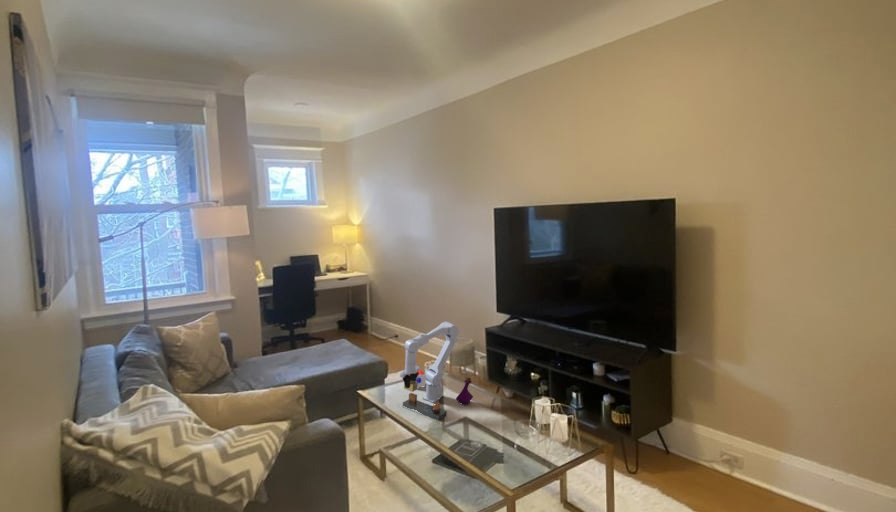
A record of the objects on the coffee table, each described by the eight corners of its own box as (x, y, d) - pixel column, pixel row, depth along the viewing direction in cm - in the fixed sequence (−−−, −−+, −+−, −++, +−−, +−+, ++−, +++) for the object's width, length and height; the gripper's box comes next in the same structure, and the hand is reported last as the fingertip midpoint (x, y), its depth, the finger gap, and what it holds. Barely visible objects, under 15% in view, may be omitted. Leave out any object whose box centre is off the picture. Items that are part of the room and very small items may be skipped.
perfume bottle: (473, 401, 263) (474, 371, 261) (467, 407, 257) (469, 375, 254) (460, 398, 266) (462, 368, 264) (455, 404, 260) (456, 372, 257)
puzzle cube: (418, 381, 288) (419, 369, 286) (425, 386, 281) (425, 374, 280) (407, 384, 283) (407, 371, 282) (413, 389, 277) (413, 376, 276)
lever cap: (408, 386, 259) (408, 379, 258) (417, 389, 256) (417, 382, 255) (403, 388, 256) (404, 381, 255) (412, 391, 252) (412, 384, 252)
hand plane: (410, 402, 260) (411, 390, 259) (446, 415, 246) (447, 403, 245) (402, 406, 254) (403, 394, 253) (438, 420, 240) (439, 407, 239)
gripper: (407, 368, 246) (407, 392, 248) (424, 360, 258) (423, 384, 260) (397, 364, 250) (396, 389, 252) (414, 357, 262) (413, 380, 263)
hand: (409, 386), depth 256 cm, fingers closed on lever cap, 4 cm apart
